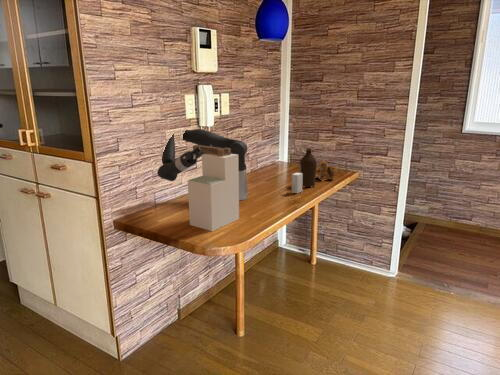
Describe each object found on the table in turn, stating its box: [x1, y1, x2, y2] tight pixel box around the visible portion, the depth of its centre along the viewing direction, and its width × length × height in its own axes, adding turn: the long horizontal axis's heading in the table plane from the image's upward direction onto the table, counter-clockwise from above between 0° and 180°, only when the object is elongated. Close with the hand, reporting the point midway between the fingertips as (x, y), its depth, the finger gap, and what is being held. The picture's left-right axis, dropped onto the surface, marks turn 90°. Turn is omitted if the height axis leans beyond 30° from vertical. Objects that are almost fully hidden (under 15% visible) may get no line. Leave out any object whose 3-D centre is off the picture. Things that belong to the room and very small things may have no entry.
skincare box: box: [291, 172, 303, 194], centre depth 225 cm, size 6×4×12 cm
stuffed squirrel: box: [316, 160, 338, 181], centre depth 256 cm, size 10×14×13 cm
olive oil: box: [299, 147, 318, 188], centre depth 238 cm, size 11×11×25 cm
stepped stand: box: [187, 154, 240, 232], centre depth 174 cm, size 20×14×32 cm
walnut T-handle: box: [192, 144, 231, 157], centre depth 177 cm, size 6×20×3 cm, turn 54°
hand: (205, 147), depth 178 cm, fingers open, 8 cm apart
